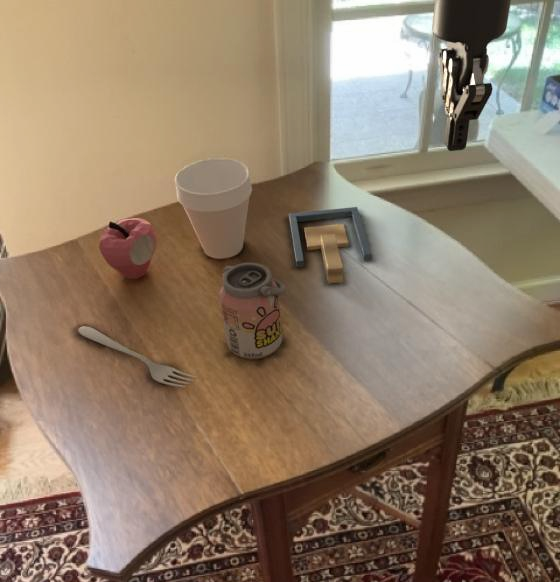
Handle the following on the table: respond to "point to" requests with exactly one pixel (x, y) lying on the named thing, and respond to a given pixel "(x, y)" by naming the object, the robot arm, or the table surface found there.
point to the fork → (155, 369)
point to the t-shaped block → (328, 248)
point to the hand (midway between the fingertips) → (454, 147)
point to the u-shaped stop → (327, 215)
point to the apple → (129, 246)
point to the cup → (216, 203)
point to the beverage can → (251, 310)
